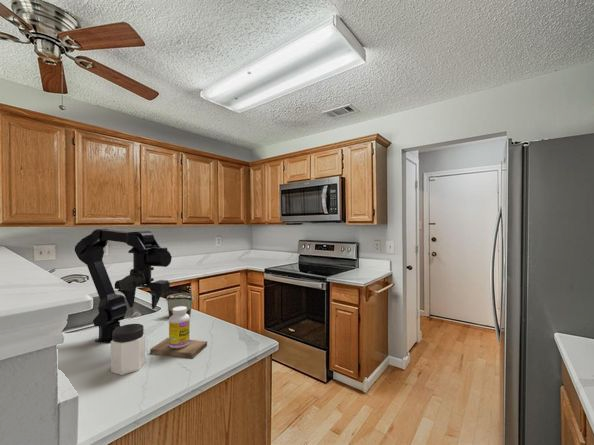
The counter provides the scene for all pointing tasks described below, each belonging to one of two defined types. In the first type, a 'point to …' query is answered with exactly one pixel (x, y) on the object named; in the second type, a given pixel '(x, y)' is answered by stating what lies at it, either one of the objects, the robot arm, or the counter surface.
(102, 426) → the counter surface
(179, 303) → the food container
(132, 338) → the jar
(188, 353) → the walnut board
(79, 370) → the counter surface
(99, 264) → the robot arm
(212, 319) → the counter surface
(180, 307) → the supplement bottle
